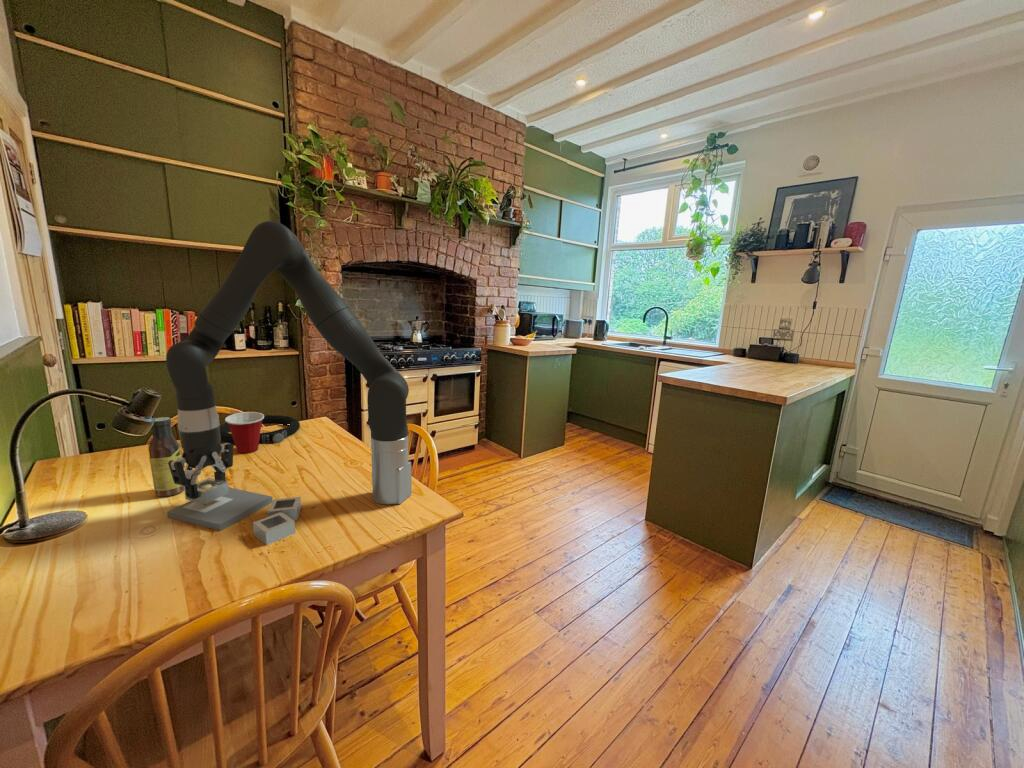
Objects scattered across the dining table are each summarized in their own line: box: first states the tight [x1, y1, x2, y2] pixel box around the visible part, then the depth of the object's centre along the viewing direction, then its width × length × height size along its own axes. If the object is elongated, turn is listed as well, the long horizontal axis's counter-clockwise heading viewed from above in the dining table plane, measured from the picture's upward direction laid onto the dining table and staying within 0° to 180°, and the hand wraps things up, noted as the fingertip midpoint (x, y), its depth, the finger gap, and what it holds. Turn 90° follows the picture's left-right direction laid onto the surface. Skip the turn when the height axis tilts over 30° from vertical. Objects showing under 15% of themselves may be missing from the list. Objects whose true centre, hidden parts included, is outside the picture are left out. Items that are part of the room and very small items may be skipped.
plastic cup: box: [224, 411, 265, 455], centre depth 135 cm, size 11×11×12 cm
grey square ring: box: [183, 477, 229, 504], centre depth 98 cm, size 6×6×3 cm
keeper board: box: [166, 484, 273, 531], centre depth 99 cm, size 16×14×6 cm
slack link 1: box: [267, 496, 302, 521], centre depth 98 cm, size 6×6×3 cm
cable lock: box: [219, 414, 301, 445], centre depth 153 cm, size 28×4×30 cm
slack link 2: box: [252, 512, 296, 546], centre depth 90 cm, size 6×6×3 cm
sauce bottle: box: [148, 416, 185, 498], centre depth 105 cm, size 7×6×20 cm
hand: (207, 491), depth 98 cm, fingers closed on grey square ring, 6 cm apart
